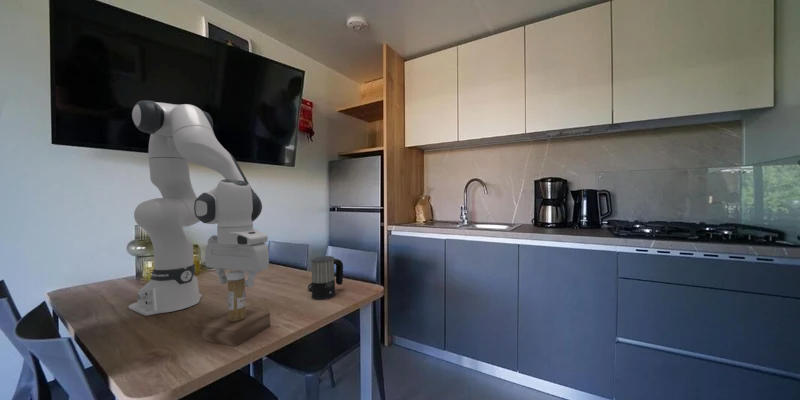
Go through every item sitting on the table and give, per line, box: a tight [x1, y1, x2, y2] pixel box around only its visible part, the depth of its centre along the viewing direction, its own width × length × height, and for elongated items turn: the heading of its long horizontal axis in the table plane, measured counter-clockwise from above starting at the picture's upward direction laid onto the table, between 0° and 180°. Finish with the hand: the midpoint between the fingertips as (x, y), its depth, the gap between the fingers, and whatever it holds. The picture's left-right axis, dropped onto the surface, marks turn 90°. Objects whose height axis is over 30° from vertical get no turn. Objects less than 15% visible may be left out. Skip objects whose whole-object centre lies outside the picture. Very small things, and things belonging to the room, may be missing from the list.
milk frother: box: [307, 255, 344, 300], centre depth 114 cm, size 14×16×15 cm
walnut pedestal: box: [200, 309, 271, 347], centre depth 81 cm, size 12×12×4 cm
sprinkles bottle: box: [226, 270, 246, 321], centre depth 81 cm, size 5×5×14 cm
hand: (236, 284), depth 81 cm, fingers open, 8 cm apart
